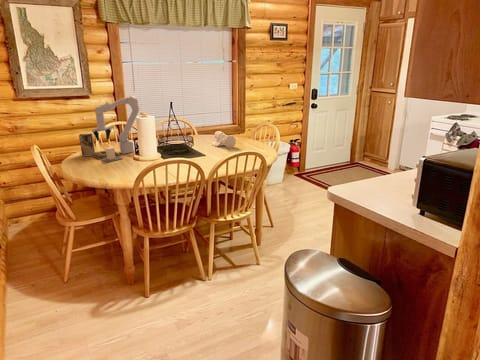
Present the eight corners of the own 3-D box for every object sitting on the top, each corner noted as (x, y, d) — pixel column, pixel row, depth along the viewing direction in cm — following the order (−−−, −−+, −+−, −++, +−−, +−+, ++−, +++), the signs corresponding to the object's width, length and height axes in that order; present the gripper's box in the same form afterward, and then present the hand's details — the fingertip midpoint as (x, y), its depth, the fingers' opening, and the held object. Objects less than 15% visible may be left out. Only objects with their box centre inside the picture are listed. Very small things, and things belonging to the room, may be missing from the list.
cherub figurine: (222, 137, 290) (209, 130, 305) (222, 152, 295) (209, 144, 310) (236, 134, 296) (223, 127, 311) (236, 149, 302) (223, 141, 317)
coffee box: (95, 153, 286) (92, 133, 281) (94, 155, 280) (91, 134, 275) (82, 154, 284) (79, 133, 278) (81, 156, 278) (78, 135, 272)
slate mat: (116, 156, 277) (116, 155, 277) (122, 159, 270) (122, 158, 270) (100, 159, 270) (100, 159, 269) (106, 162, 263) (106, 161, 262)
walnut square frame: (110, 152, 288) (110, 149, 287) (117, 155, 280) (117, 152, 279) (92, 156, 279) (92, 152, 278) (99, 159, 271) (99, 155, 270)
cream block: (112, 157, 273) (111, 146, 270) (115, 158, 270) (114, 147, 267) (107, 158, 270) (105, 148, 267) (110, 159, 267) (108, 149, 264)
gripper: (107, 120, 286) (109, 137, 290) (89, 123, 276) (91, 140, 281) (111, 121, 281) (113, 139, 285) (93, 124, 271) (95, 142, 276)
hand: (103, 140), depth 283 cm, fingers open, 7 cm apart
